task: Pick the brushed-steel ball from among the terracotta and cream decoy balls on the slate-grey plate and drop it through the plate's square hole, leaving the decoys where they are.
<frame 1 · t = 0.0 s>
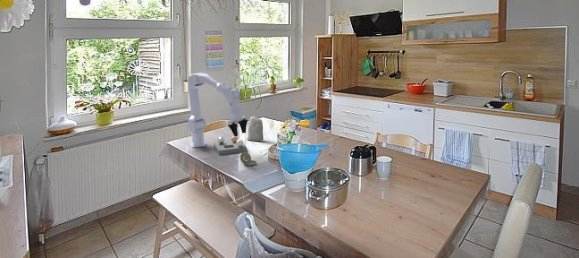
hand: (240, 134, 210), 11 cm above the table, tool pointing down, fingers open, 7 cm apart
terracotta ball: (234, 138, 223), point 4 cm above the table, touching hole plate
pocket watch: (248, 165, 192), on the table
hole plate: (229, 148, 219), on the table
steel ball: (221, 140, 221), point 4 cm above the table, touching hole plate
decorative stone: (255, 140, 237), on the table
cream ball: (239, 142, 215), point 4 cm above the table, touching hole plate
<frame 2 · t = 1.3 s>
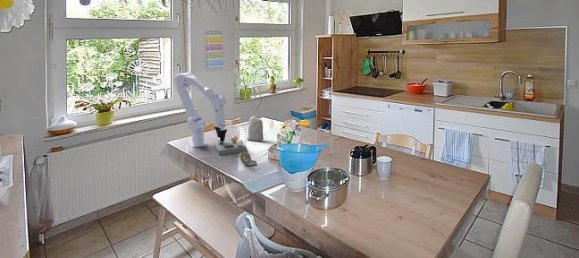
hand: (221, 139, 221), 5 cm above the table, tool pointing down, fingers open, 7 cm apart
nothing on the table moved.
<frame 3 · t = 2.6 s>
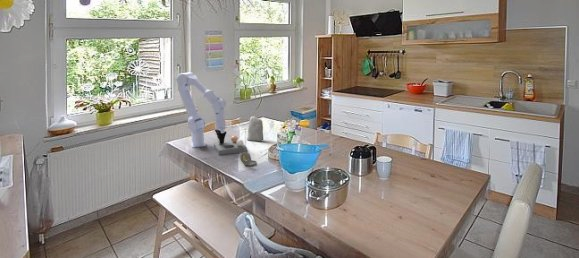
hand: (221, 142, 221), 3 cm above the table, tool pointing down, fingers closed on steel ball, 4 cm apart
steel ball: (221, 140, 221), point 4 cm above the table, touching gripper, hole plate
everything else where it was.
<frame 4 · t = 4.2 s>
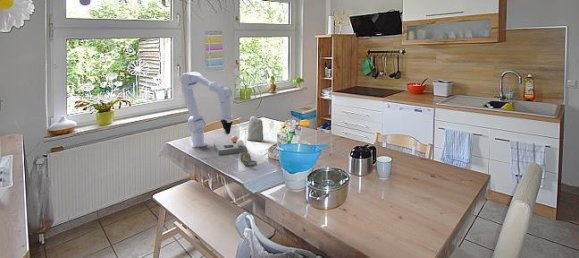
hand: (227, 132, 214), 11 cm above the table, tool pointing down, fingers closed on steel ball, 4 cm apart
steel ball: (226, 131, 214), point 11 cm above the table, touching gripper
everything else where it was.
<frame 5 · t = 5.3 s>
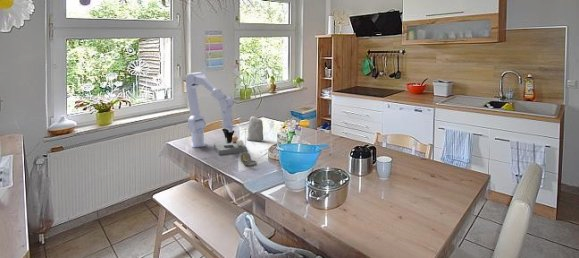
hand: (228, 141, 215), 5 cm above the table, tool pointing down, fingers closed on steel ball, 4 cm apart
steel ball: (228, 140, 215), point 6 cm above the table, touching gripper
everything else where it was.
when the fingers open (5 cm above the table, at t = 6.1 s): steel ball drops 4 cm, point 2 cm above the table.
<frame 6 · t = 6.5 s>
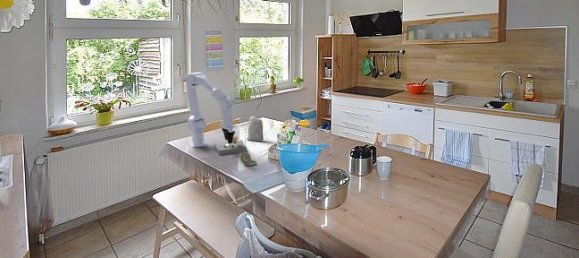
hand: (228, 141, 215), 5 cm above the table, tool pointing down, fingers open, 7 cm apart
steel ball: (228, 147, 216), point 2 cm above the table
everything else where it was.
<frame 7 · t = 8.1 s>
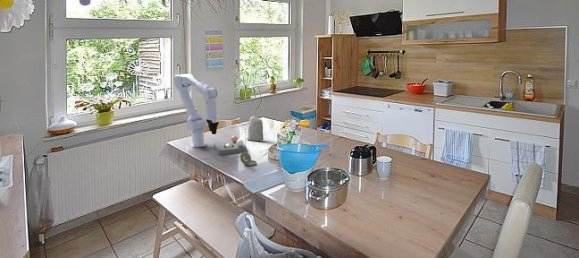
hand: (212, 132, 215), 10 cm above the table, tool pointing down, fingers open, 7 cm apart
steel ball: (228, 147, 216), point 2 cm above the table, tilted 8°
everything else where it was.
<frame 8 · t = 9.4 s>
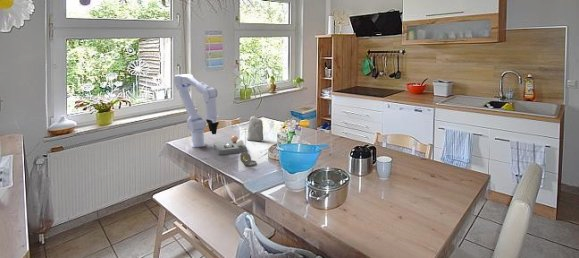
hand: (212, 132, 215), 10 cm above the table, tool pointing down, fingers open, 7 cm apart
steel ball: (228, 146, 216), point 2 cm above the table, tilted 16°
everything else where it was.
at the end: steel ball 0.7 cm from the target spot on the hole plate, point 2.0 cm above the hole plate's base; terracotta ball moved 0.0 cm from its start; cream ball moved 0.0 cm from its start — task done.
